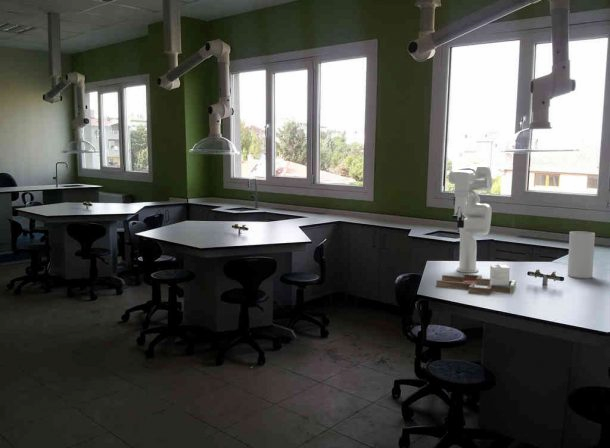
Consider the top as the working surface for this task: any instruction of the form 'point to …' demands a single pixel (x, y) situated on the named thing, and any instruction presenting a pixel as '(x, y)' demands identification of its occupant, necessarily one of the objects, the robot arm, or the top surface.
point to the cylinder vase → (581, 254)
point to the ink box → (499, 275)
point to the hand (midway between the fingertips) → (460, 227)
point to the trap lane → (471, 279)
